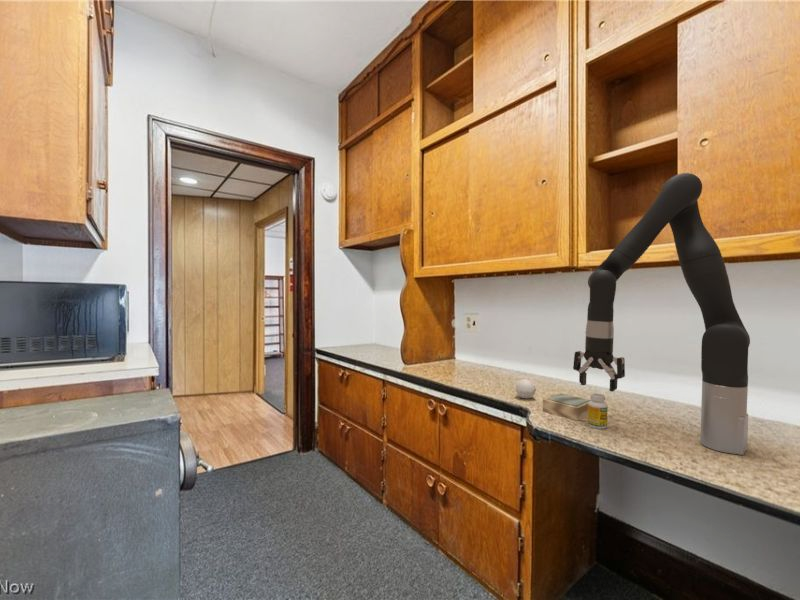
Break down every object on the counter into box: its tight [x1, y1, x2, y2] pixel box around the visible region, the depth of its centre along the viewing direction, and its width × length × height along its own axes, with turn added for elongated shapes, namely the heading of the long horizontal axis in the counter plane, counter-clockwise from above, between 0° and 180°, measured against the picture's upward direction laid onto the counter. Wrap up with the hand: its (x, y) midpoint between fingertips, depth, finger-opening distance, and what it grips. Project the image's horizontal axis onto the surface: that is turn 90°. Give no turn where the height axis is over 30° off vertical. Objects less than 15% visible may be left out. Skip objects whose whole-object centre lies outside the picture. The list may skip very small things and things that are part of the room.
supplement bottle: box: [587, 393, 608, 430], centre depth 116 cm, size 5×5×10 cm
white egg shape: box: [514, 378, 537, 400], centre depth 146 cm, size 10×7×7 cm
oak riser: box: [542, 392, 591, 421], centre depth 129 cm, size 12×12×4 cm
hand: (597, 387), depth 116 cm, fingers open, 8 cm apart
